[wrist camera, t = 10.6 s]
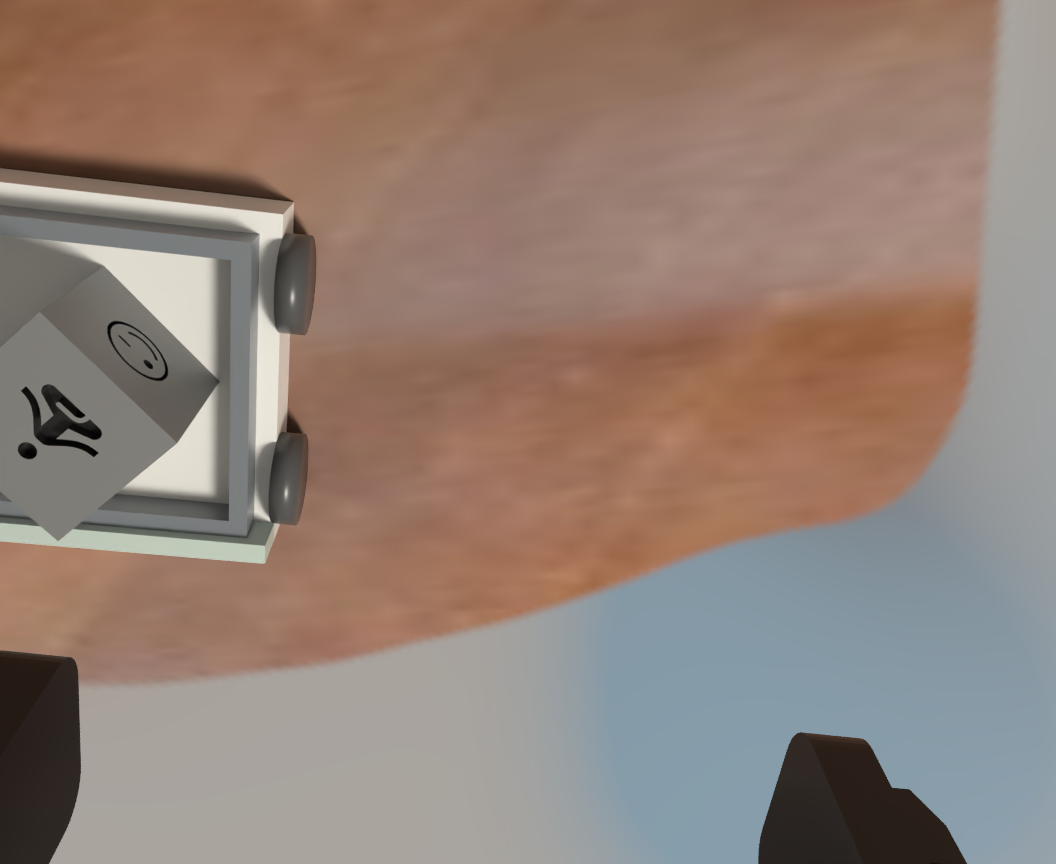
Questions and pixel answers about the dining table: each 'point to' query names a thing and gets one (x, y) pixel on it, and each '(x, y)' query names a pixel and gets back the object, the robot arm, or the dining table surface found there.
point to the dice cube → (91, 401)
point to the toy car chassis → (201, 326)
